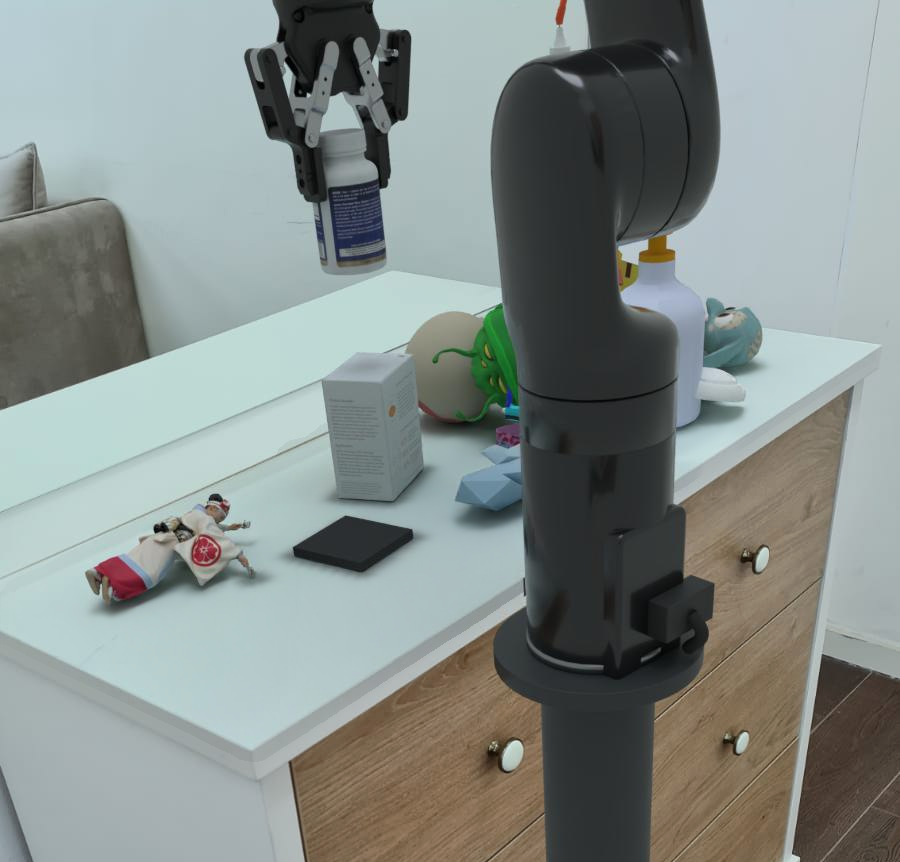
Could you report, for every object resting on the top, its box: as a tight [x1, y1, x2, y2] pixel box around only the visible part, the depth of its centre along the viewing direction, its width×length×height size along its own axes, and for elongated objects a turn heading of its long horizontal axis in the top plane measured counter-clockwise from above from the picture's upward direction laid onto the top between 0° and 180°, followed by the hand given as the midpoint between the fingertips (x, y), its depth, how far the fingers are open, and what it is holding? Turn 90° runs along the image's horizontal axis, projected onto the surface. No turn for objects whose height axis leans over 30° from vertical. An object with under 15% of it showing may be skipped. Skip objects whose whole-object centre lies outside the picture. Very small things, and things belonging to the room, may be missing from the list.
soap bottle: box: [621, 232, 706, 429], centre depth 107 cm, size 9×9×25 cm
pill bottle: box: [311, 127, 388, 276], centre depth 92 cm, size 5×5×10 cm
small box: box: [321, 351, 425, 502], centre depth 103 cm, size 8×6×10 cm
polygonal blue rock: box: [453, 443, 522, 512], centre depth 99 cm, size 13×7×5 cm, turn 135°
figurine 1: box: [84, 493, 258, 606], centre depth 93 cm, size 6×8×15 cm
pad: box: [292, 514, 414, 573], centre depth 95 cm, size 7×7×1 cm
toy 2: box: [404, 310, 490, 423], centre depth 116 cm, size 10×12×10 cm
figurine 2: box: [432, 303, 519, 422], centre depth 108 cm, size 13×15×10 cm
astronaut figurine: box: [695, 367, 747, 403], centre depth 115 cm, size 9×12×3 cm
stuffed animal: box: [703, 297, 763, 369], centre depth 125 cm, size 11×7×12 cm
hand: (347, 193), depth 92 cm, fingers closed on pill bottle, 5 cm apart
